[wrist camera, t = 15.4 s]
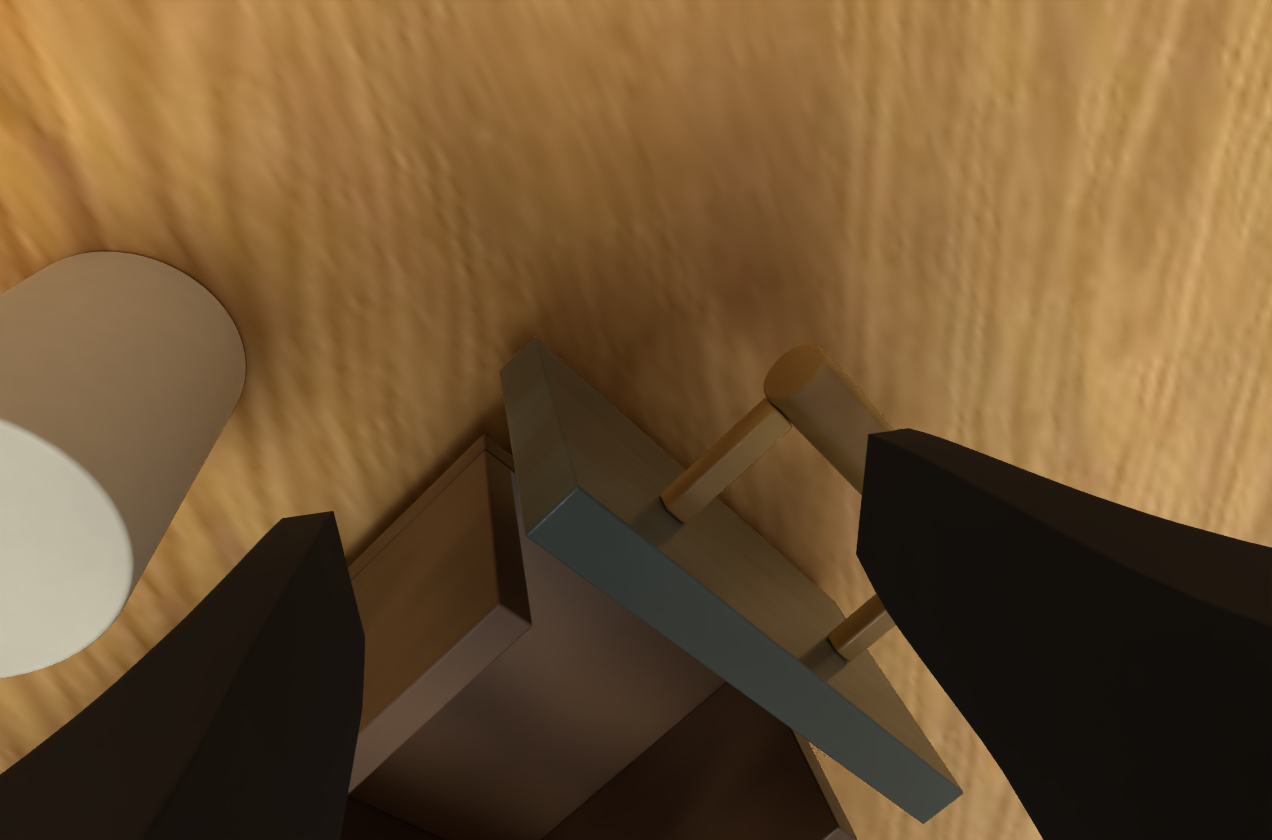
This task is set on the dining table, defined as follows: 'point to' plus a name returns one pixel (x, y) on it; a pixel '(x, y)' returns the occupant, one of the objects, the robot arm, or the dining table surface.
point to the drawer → (621, 637)
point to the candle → (99, 438)
